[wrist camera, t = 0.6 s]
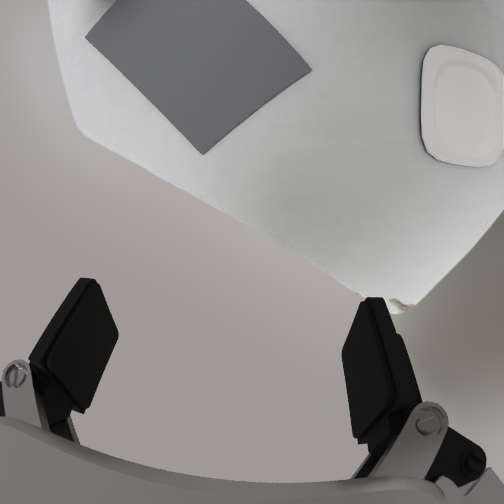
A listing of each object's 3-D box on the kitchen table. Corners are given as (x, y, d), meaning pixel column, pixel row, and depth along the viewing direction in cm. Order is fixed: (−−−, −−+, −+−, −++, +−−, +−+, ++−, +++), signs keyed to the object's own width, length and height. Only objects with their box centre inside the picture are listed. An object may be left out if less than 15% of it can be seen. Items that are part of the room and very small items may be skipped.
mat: (179, -51, 20) (177, -53, 19) (311, 69, 30) (311, 69, 29) (87, 37, 27) (84, 37, 26) (203, 153, 37) (202, 154, 36)
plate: (503, 67, 24) (509, 68, 22) (496, 168, 34) (501, 171, 32) (414, 37, 25) (420, 36, 24) (413, 157, 35) (418, 161, 34)
